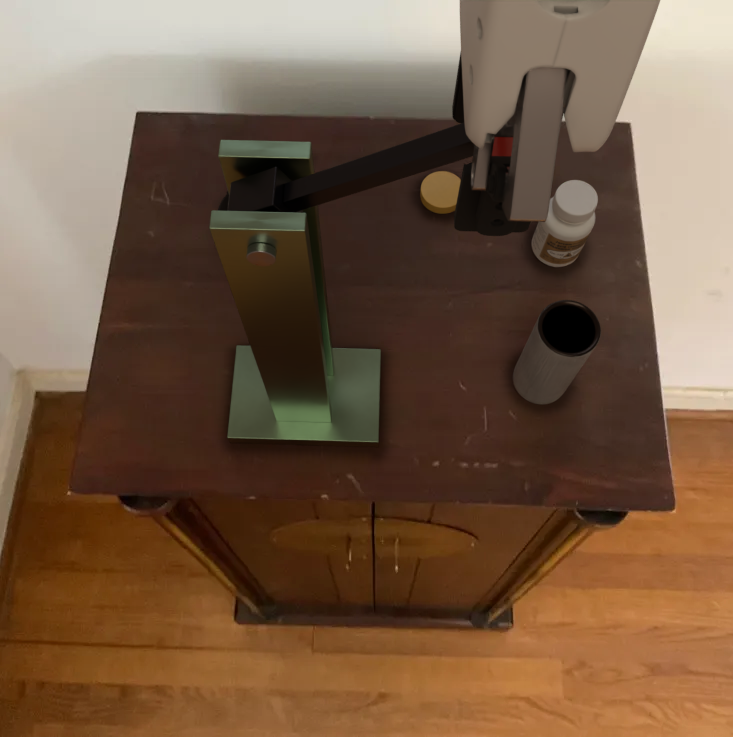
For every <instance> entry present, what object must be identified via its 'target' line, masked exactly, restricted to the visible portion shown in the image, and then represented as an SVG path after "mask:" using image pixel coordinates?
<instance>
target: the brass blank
mask: <svg viewBox="0 0 733 737" xmlns="http://www.w3.org/2000/svg"><path fill="white" fill-rule="evenodd" d="M460 182H461V177H459V176H457V174H454V173H453V172H451V171H446V170H440V171H439V170H438V171H433V172H432V173H429V174H428V175H426V177H425V178H423V180H422V182H421V185H420V191H419V197H420V202H421V204H422V205H423V206H424V207H425V208H426V209H427V210H428V211H430V212H433V213H435V214H440V215H445V214H450V213H453V212H455V208H456V203H457V197H458V192H459V187H460Z"/></svg>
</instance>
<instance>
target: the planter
mask: <svg viewBox="0 0 733 737" xmlns="http://www.w3.org/2000/svg"><path fill="white" fill-rule="evenodd" d="M601 336H602V328H601V323H600V320H599V318H598V316H597V315H596V313H595V312H594V311H593V310H592V309H591V308H590V307H589V306H587V305H586V304H584V303H583V302H580V301H577V300H574V299H573V300H572V299H561V300H557V301H554V302H551V303H549V304H548V305H546V306H545V307H544V308H543V309H542V310H541V312H540V314H539V315H538V318H537V319H536V321H535V324H534V326H533V328H532V330H531V332H530V334H529V337H528V339H527V340H526V343H525V345H524V347H523V349H522V351H521V353H520V355H519V358H518V360H517V362H516V363H515V366H514V368H513V372H512V382H513V386H514V388H515V390H516V392H517V393H518V394H519V396H520V397H522V398H523V399H524V400H525V401H527V402H530V403H531V404H535V405H548V404H552V403H554V402H556V401H558V400H559V399H560V398H561V397H562V396H563V395H564V394H565V392H566V391H567V389H568V388H569V387H570V385H571V384H572V382H573V381H574V380H575V378H576V377H577V375H578V374H579V372H580V371H581V369H582V368H583V366H584V365H585V363H586V362H587V361H588V359H589V358H590V357H591V355H592V354H593V352H594V351H595V349H596V348H597V346H598V344H599V343H600V341H601Z"/></svg>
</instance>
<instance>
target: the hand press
mask: <svg viewBox="0 0 733 737" xmlns="http://www.w3.org/2000/svg"><path fill="white" fill-rule="evenodd" d="M217 157H218V160H219V165H220V168H221V172H222V175H223V178H224V182H225V185H226V186H225V187H226V189H227V191H228V193H229V194H230V185H231V182H234V181H236V180H239V179H242V178H245V177H248V176H250V175H253V174H256V173H259V172H262V171H264V170H267V169H270V168H273V167H277V168H279V169H280V170H281V171H282V172H283V173H284V174H285V175H286V176H287V177H288V178H289V179H290V180H292V181H293V180H296V179H299V178H302V177H305V176H308V175H311V174H314V173H315V165H314V155H313V144H312V142H311V141H296V140H295V141H291V140H287V141H286V140H254V139H253V140H251V139H250V140H249V139H248V140H247V139H246V140H245V139H220V140H219V145H218V154H217ZM208 228H209V232H210V235H211V237H212V240H213V244H214V246H215V249H216V253H217V254H218V257H219V260H220V263H221V266H222V269H223V272H224V275H225V277H226V281H227V283H228V286H229V289H230V292H231V295H232V298H233V300H234V303H235V306H236V309H237V313H238V315H239V318H240V320H241V323H242V327H243V329H244V332H245V335H246V337H247V341H248V343H249V345H236V346H235V355H234V365H233V376H232V386H231V396H230V403H229V404H230V405H229V416H228V425H227V435H226V439H227V440H228V442H229V443H230V444H245V445H282V446H283V445H284V446H286V445H287V446H314V447H315V446H317V447H319V446H320V447H321V446H322V447H355V448H356V447H357V448H379V444H380V439H379V438H380V406H381V405H380V403H381V402H380V399H381V367H382V366H381V362H382V350H381V349H380V348H379V349H378V348H377V349H376V348H347V347H346V348H344V347H343V348H342V347H333V340H332V331H331V330H332V329H331V321H330V320H331V319H330V310H329V302H328V300H329V299H328V292H327V283H326V281H327V280H326V273H325V264H324V263H325V261H324V253H323V242H322V233H321V224H320V213H319V205H317V206H314V207H311V208H307V209H304V210H303V213H293V212H253V211H218V210H211V212H210V218H209V226H208Z"/></svg>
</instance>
